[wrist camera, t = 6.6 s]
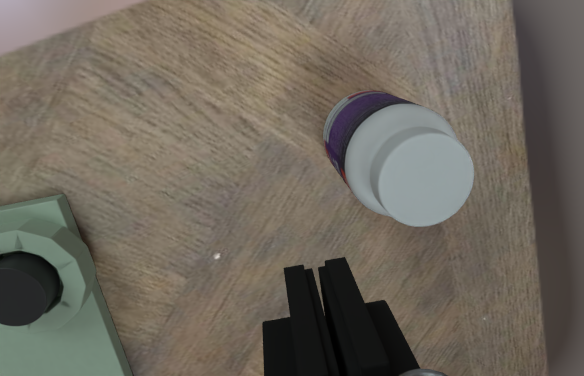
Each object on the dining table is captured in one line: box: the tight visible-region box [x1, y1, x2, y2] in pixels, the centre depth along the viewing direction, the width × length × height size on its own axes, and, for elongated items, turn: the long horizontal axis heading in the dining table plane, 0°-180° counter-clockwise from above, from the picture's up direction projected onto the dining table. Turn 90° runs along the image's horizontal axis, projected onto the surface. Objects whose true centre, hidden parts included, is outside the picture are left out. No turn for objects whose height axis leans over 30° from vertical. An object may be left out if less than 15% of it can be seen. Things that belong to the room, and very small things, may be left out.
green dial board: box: [0, 194, 133, 376], centre depth 27 cm, size 16×14×3 cm
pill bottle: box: [323, 90, 474, 227], centre depth 22 cm, size 5×5×10 cm
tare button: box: [0, 253, 60, 326], centre depth 24 cm, size 4×4×2 cm
